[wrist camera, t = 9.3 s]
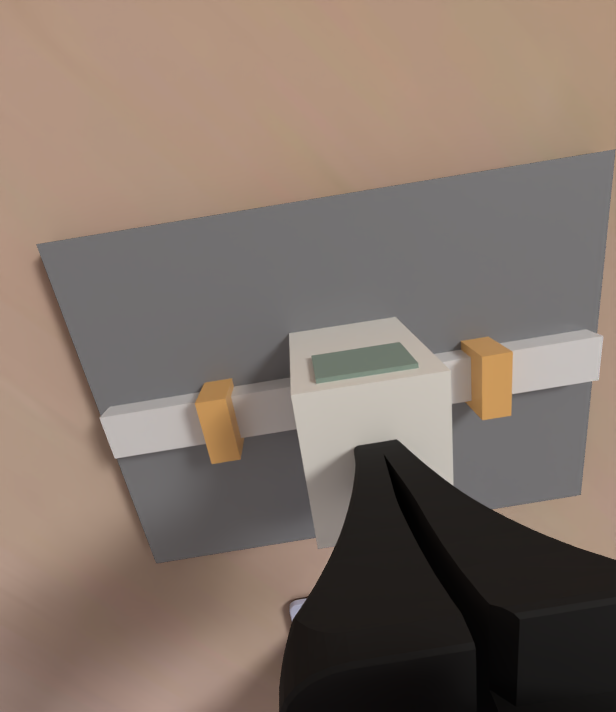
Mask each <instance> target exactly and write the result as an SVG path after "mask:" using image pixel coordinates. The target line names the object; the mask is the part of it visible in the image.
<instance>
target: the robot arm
mask: <svg viewBox="0 0 616 712" xmlns="http://www.w3.org/2000/svg"><path fill="white" fill-rule="evenodd" d="M354 456H355V476H354V483H353V490H352V494H351V499H350V503H349V507H348V511H347V514H346V518H345V521H344V524H343V527H342V530H341V533H340V535H339V538H338V540H337V543H336V545H335V547H334V550H333V552H332V554H331V556H330V559H329V561H328V563H327V565H326V566H325V568H324V570H323V572H322V574H321V576H320V577H319V579H318V581H317V583H316V585H315V587H314V588H313V590H312V592H311V593H310V595H309V596H308V598H305V599H299V600H295V601H293V602H292V603H291V604H290V616H291V620H292V624H291V628H290V632H289V635H288V639H287V643H286V648H285V652H284V657H283V663H282V669H281V677H280V687H279V712H616V560H614V559H611V558H608V557H605V556H602V555H599V554H595V553H592V552H589V551H586V550H583V549H580V548H577V547H574V546H572V545H569V544H566V543H564V542H561V541H559V540H556V539H554V538H551V537H548V536H546V535H544V534H541V533H539V532H537V531H534V530H532V529H530V528H528V527H525V526H523V525H521V524H519V523H517V522H515V521H513V520H511V519H509V518H507V517H505V516H503V515H501V514H499V513H497V512H495V511H493V510H492V509H490V508H488V507H486V506H485V505H483V504H481V503H479V502H478V501H476V500H474V499H473V498H471V497H469V496H468V495H466V494H465V493H463V492H462V491H460V490H459V489H457V488H456V487H455V486H453V485H452V484H450V483H449V482H448V481H446V480H445V479H444V478H442V477H441V476H440V475H438V474H437V473H436V472H435V471H433V470H432V469H431V468H430V467H428V466H427V465H426V464H425V463H423V462H422V461H421V460H420V459H419V458H418V457H416V456H415V455H414V454H413V453H412V452H411V451H410V450H409V449H407V448H406V447H405V446H404V445H403V444H402V443H401V442H400V441H398V440H397V439H395V440H389V441H383V442H377V443H370V444H364V445H358V446H356V447H355V448H354Z"/></svg>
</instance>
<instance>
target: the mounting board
mask: <svg viewBox="0 0 616 712" xmlns="http://www.w3.org/2000/svg"><path fill="white" fill-rule="evenodd" d="M615 150H616V149H615ZM615 150H609V151H603V152H597V153H591V154H585V155H579V156H572V157H566V158H560V159H554V160H548V161H542V162H536V163H530V164H524V165H518V166H511V167H505V168H499V169H493V170H487V171H481V172H475V173H469V174H463V175H457V176H451V177H444V178H438V179H432V180H426V181H420V182H414V183H408V184H402V185H396V186H390V187H383V188H377V189H371V190H365V191H359V192H353V193H347V194H341V195H335V196H329V197H322V198H316V199H310V200H304V201H298V202H292V203H286V204H280V205H274V206H268V207H261V208H255V209H249V210H243V211H237V212H231V213H225V214H219V215H213V216H207V217H200V218H194V219H188V220H182V221H176V222H170V223H164V224H158V225H152V226H146V227H140V228H133V229H127V230H121V231H115V232H109V233H103V234H97V235H91V236H85V237H79V238H72V239H66V240H60V241H54V242H48V243H42V244H36V245H37V248H38V250H39V253H40V256H41V258H42V261H43V264H44V266H45V269H46V272H47V274H48V277H49V280H50V282H51V285H52V288H53V290H54V293H55V295H56V298H57V301H58V303H59V306H60V309H61V311H62V314H63V317H64V319H65V322H66V325H67V327H68V330H69V333H70V335H71V338H72V341H73V343H74V346H75V349H76V351H77V354H78V357H79V359H80V362H81V365H82V367H83V370H84V373H85V375H86V378H87V381H88V383H89V386H90V389H91V391H92V394H93V397H94V399H95V402H96V405H97V407H98V410H99V413H100V415H101V417H100V421H101V424H102V426H103V429H104V431H105V434H106V437H107V439H108V442H109V445H110V447H111V450H112V453H113V455H114V458H115V459H116V458H117V460H118V463H119V466H120V468H121V471H122V474H123V476H124V479H125V482H126V484H127V487H128V490H129V492H130V495H131V498H132V500H133V503H134V506H135V508H136V511H137V514H138V516H139V519H140V522H141V524H142V527H143V530H144V532H145V535H146V538H147V540H148V543H149V545H150V548H151V551H152V553H153V556H154V559H155V561H156V563H162V562H168V561H174V560H181V559H187V558H193V557H199V556H205V555H212V554H218V553H224V552H230V551H236V550H243V549H249V548H255V547H261V546H267V545H274V544H280V543H286V542H292V541H298V540H305V539H311V538H316V535H315V529H314V524H313V518H312V512H311V507H310V501H309V495H308V490H307V484H306V478H305V473H304V467H303V461H302V456H301V450H300V444H299V438H298V433H297V427H296V421H295V416H294V410H293V404H292V399H291V383H290V348H289V333H294V332H301V331H307V330H314V329H320V328H327V327H333V326H340V325H346V324H353V323H359V322H366V321H372V320H379V319H385V318H392V317H396V318H397V319H398V320H399V321H400V322H401V323H402V324H403V325H404V326H405V327H406V328H407V329H408V330H410V331H411V332H412V333H413V334H414V335H415V336H416V337H417V338H418V339H419V340H420V341H421V342H422V343H423V344H424V345H425V346H426V347H427V348H428V349H429V350H430V351H431V352H432V353H433V354H434V355H435V356H436V357H437V358H438V359H440V360H441V361H442V362H443V363H444V364H445V365H446V366H447V367H448V368H449V369H450V370H451V397H452V441H453V485H454V486H455V487H456V488H457V489H459V490H460V491H462V492H463V493H465V494H466V495H468V496H469V497H471V498H473V499H474V500H476V501H478V502H479V503H481V504H483V505H485V506H486V507H488V508H490V509H497V508H503V507H509V506H515V505H521V504H528V503H534V502H540V501H546V500H552V499H559V498H565V497H571V496H577V495H581V487H582V477H583V467H584V457H585V447H586V437H587V428H588V418H589V408H590V398H591V388H592V381H596V380H599V372H600V362H601V353H602V343H603V336H602V335H599V334H597V328H598V318H599V308H600V299H601V289H602V279H603V269H604V259H605V249H606V239H607V229H608V219H609V209H610V199H611V189H612V179H613V169H614V160H615Z"/></svg>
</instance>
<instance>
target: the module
mask: <svg viewBox="0 0 616 712" xmlns="http://www.w3.org/2000/svg"><path fill="white" fill-rule="evenodd" d="M289 348H290V383H291V399H292V404H293V410H294V416H295V421H296V427H297V433H298V438H299V444H300V450H301V456H302V461H303V467H304V473H305V478H306V484H307V490H308V495H309V501H310V507H311V512H312V518H313V524H314V529H315V535H316V541H317V546H318V549H321V548H327V547H334V546H335V545H336V543H337V540H338V538H339V535H340V533H341V530H342V527H343V524H344V521H345V518H346V514H347V511H348V507H349V503H350V499H351V494H352V490H353V483H354V476H355V456H354V448H355V447H356V446H358V445H364V444H370V443H377V442H383V441H389V440H395V439H397V440H398V441H400V442H401V443H402V444H403V445H404V446H405V447H406V448H407V449H409V450H410V451H411V452H412V453H413V454H414V455H415V456H416V457H418V458H419V459H420V460H421V461H422V462H423V463H425V464H426V465H427V466H428V467H430V468H431V469H432V470H433V471H435V472H436V473H437V474H438V475H440V476H441V477H442V478H444V479H445V480H446V481H448V482H449V483H450V484H452V485H453V441H452V397H451V370H450V369H449V368H448V367H447V366H446V365H445V364H444V363H443V362H442V361H441V360H440V359H438V358H437V357H436V356H435V355H434V354H433V353H432V352H431V351H430V350H429V349H428V348H427V347H426V346H425V345H424V344H423V343H422V342H421V341H420V340H419V339H418V338H417V337H416V336H415V335H414V334H413V333H412V332H411V331H410V330H408V329H407V328H406V327H405V326H404V325H403V324H402V323H401V322H400V321H399V320H398V319H397V318H396V317H392V318H385V319H379V320H372V321H366V322H359V323H353V324H346V325H340V326H333V327H327V328H320V329H314V330H307V331H301V332H294V333H289ZM453 486H454V485H453Z"/></svg>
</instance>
